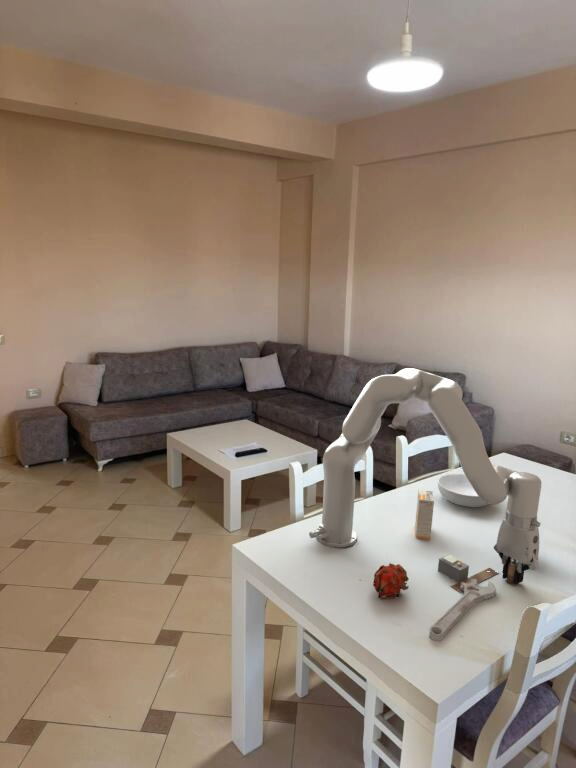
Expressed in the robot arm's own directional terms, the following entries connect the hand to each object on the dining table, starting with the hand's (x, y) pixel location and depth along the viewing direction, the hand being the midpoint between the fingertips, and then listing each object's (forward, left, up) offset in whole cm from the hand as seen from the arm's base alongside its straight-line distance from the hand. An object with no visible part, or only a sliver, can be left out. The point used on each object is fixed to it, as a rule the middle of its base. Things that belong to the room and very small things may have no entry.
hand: (512, 579), depth 148 cm
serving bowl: (+32, +40, -1) cm, 51 cm away
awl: (0, 0, -1) cm, 1 cm away
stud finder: (-11, +11, -1) cm, 16 cm away
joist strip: (-8, +6, -1) cm, 10 cm away
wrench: (-24, +2, 0) cm, 24 cm away
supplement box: (0, +32, -1) cm, 32 cm away
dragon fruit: (-33, +14, -1) cm, 36 cm away
